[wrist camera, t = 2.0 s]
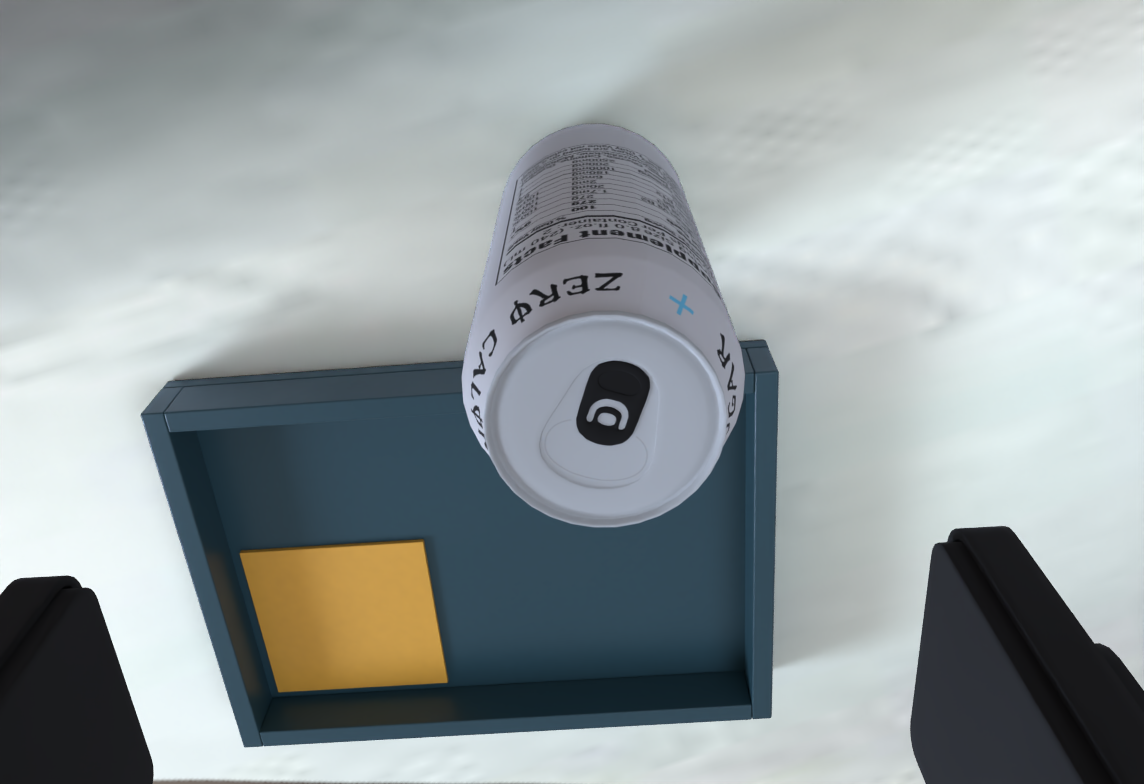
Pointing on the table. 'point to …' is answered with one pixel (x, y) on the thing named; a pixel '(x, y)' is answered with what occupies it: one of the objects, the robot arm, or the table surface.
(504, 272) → the energy drink can
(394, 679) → the corner tile
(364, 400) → the tray
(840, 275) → the table surface
